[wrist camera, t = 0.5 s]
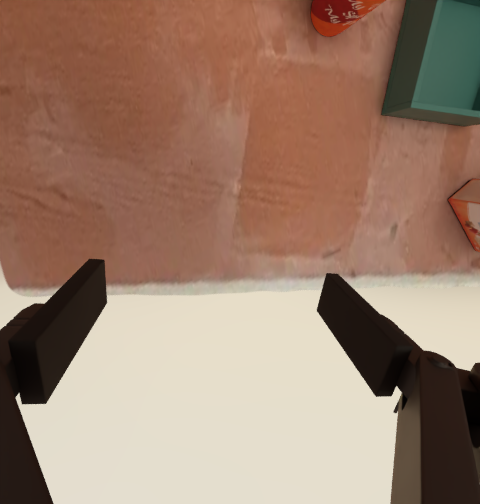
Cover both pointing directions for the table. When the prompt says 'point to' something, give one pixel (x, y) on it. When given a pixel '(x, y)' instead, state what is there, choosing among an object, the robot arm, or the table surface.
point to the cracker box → (469, 210)
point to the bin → (437, 63)
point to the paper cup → (339, 14)
